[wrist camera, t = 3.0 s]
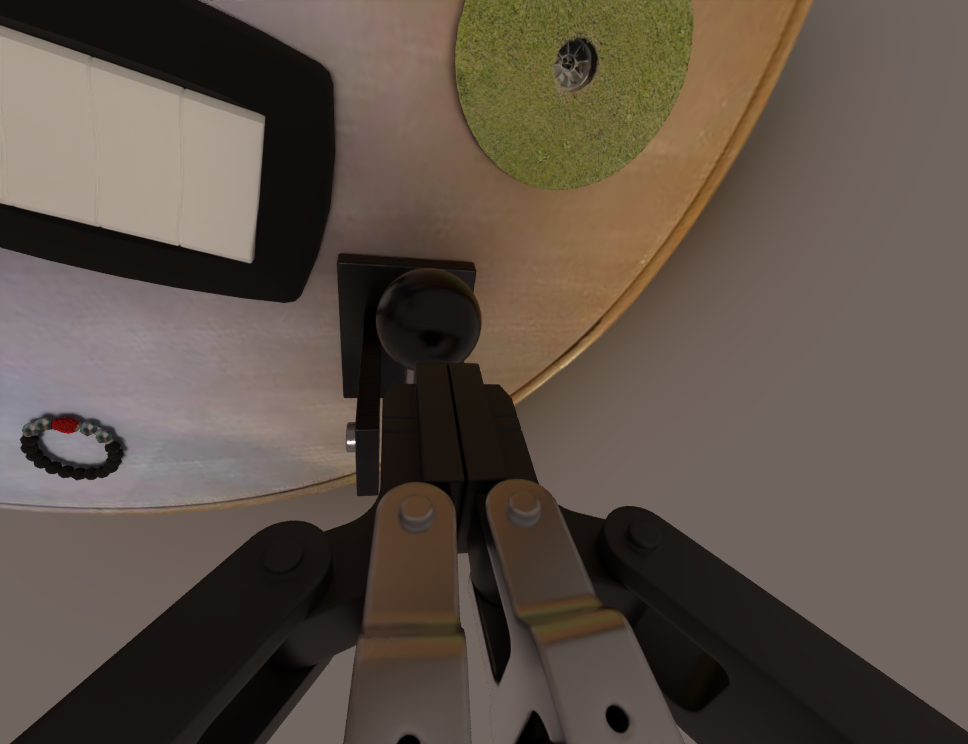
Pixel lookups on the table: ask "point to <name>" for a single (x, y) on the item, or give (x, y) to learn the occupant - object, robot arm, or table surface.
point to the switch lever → (428, 319)
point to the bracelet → (87, 429)
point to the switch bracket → (372, 349)
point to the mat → (569, 82)
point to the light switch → (163, 145)
